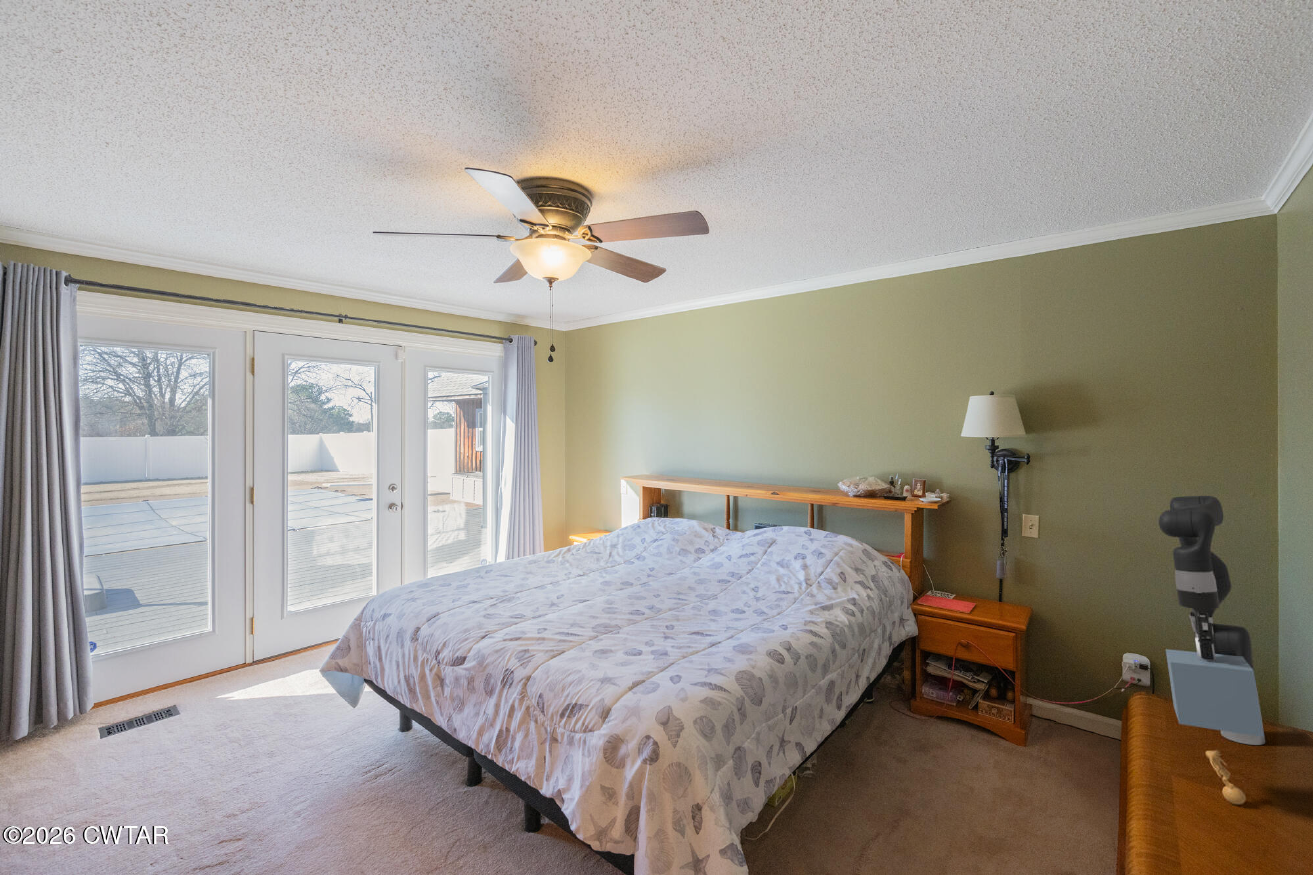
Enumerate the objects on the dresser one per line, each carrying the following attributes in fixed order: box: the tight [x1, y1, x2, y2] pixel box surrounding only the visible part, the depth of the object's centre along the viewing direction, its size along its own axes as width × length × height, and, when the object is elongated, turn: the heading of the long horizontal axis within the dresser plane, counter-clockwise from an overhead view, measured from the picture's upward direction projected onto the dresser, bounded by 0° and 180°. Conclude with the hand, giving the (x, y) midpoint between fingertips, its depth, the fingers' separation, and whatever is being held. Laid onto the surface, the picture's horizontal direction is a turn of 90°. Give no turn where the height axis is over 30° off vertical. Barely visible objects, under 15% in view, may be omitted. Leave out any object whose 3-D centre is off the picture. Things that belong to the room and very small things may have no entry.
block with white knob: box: [1165, 638, 1265, 737], centre depth 140 cm, size 13×15×20 cm
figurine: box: [1205, 749, 1246, 805], centre depth 138 cm, size 8×6×12 cm
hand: (1206, 656), depth 141 cm, fingers closed on block with white knob, 3 cm apart
